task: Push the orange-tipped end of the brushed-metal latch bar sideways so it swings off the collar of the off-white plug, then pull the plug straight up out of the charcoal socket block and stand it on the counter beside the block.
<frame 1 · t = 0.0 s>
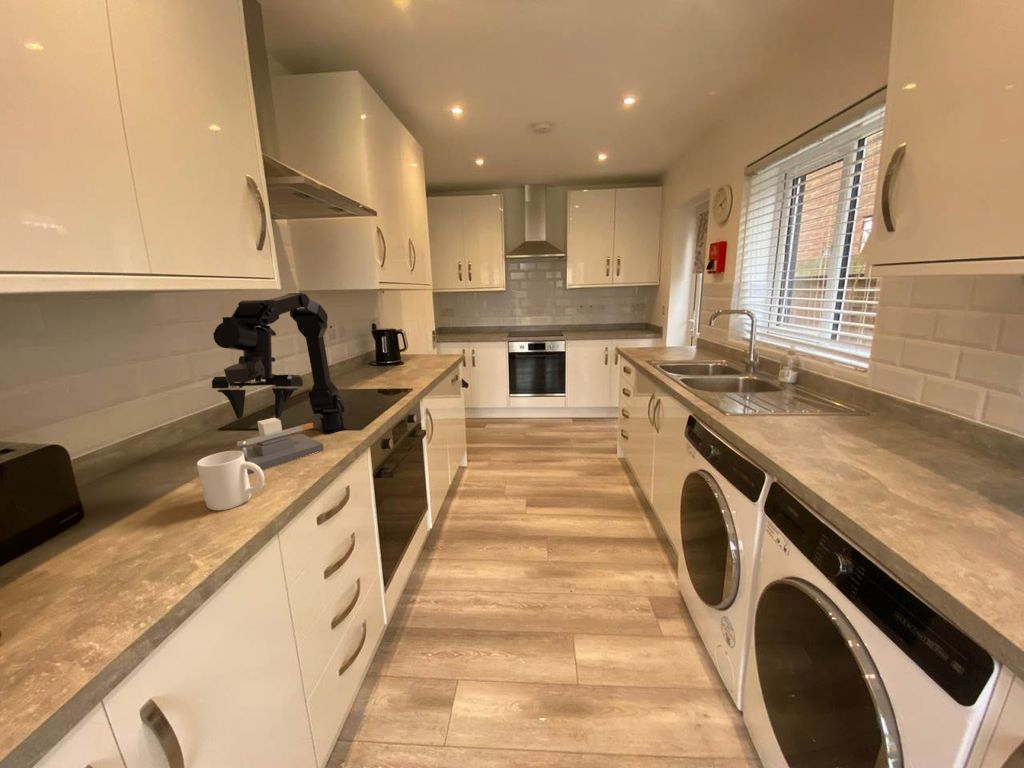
hand: (258, 418, 96), 15 cm above the worktop, tool pointing down, fingers open, 9 cm apart
plug: (273, 448, 114), point 2 cm above the worktop, touching socket block
mug: (239, 501, 90), on the worktop
latch bar: (277, 434, 111), point 7 cm above the worktop, hinge at 0.0°
socket block: (275, 454, 115), on the worktop
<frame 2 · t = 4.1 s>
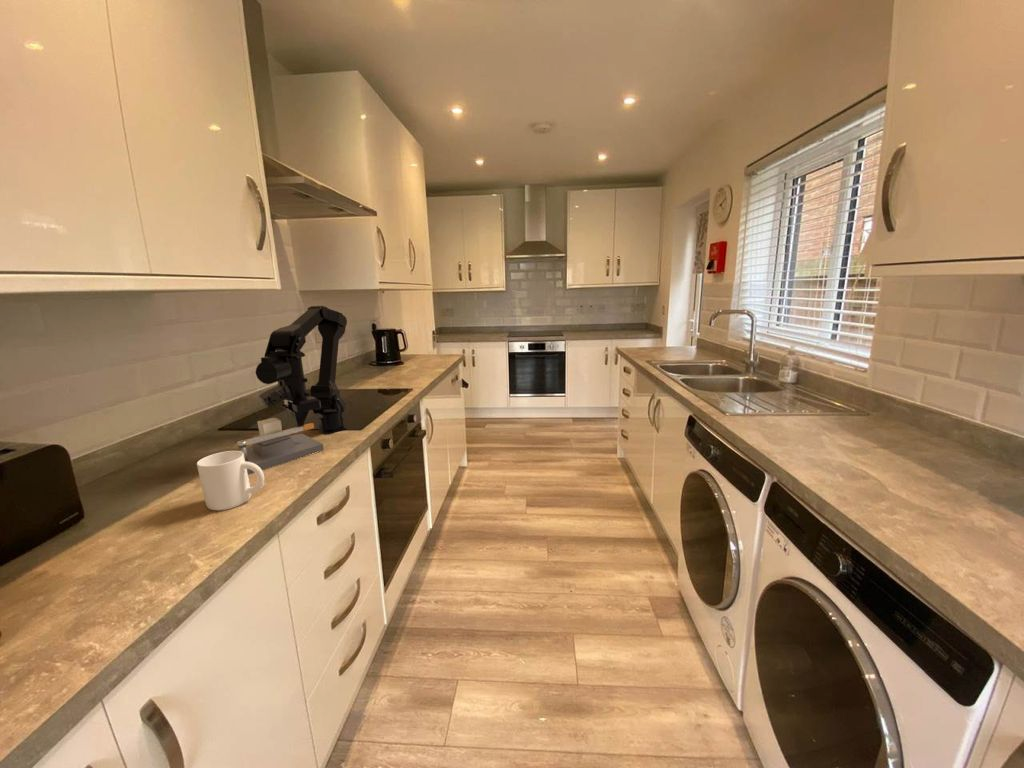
hand: (300, 428, 117), 6 cm above the worktop, tool pointing down, fingers closed
latch bar: (277, 434, 111), point 7 cm above the worktop, hinge at 1.6°, touching gripper
everything else where it was.
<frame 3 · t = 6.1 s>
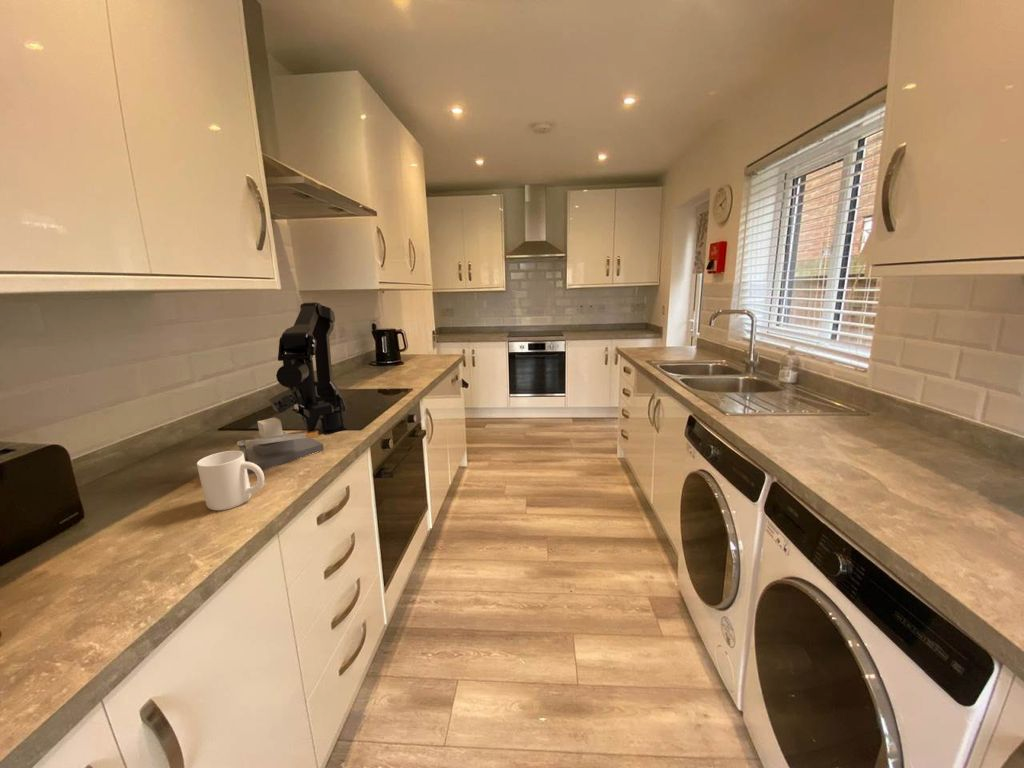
hand: (311, 433, 112), 6 cm above the worktop, tool pointing down, fingers closed
latch bar: (278, 438, 108), point 7 cm above the worktop, hinge at 28.8°, touching gripper
everything else where it was.
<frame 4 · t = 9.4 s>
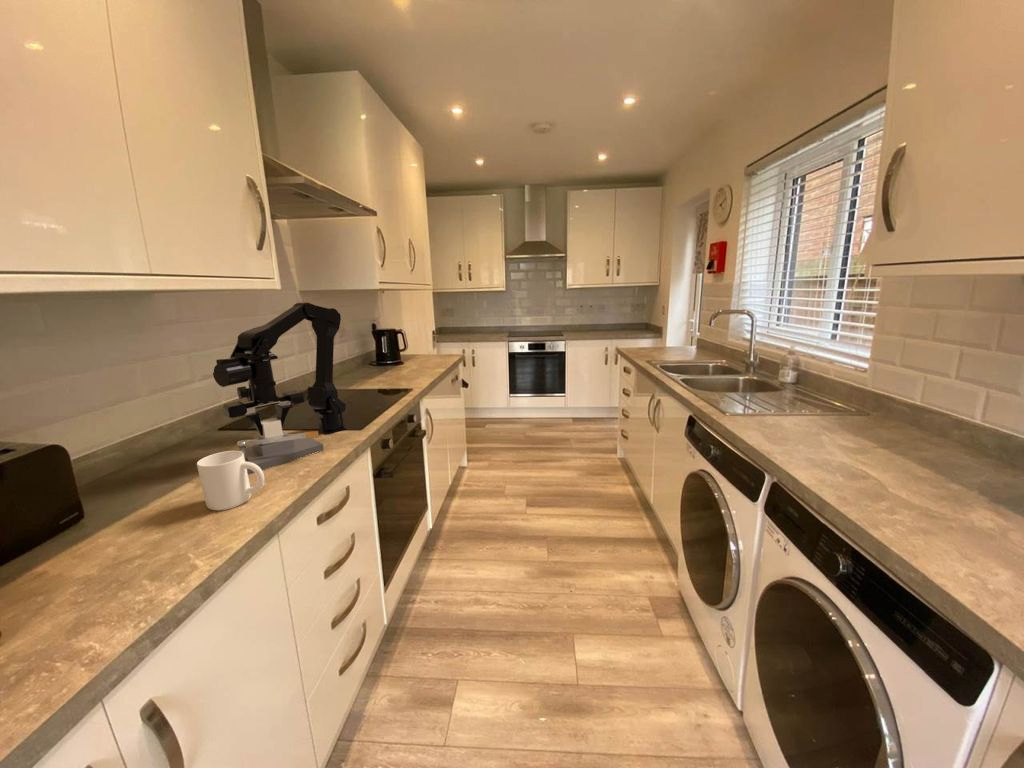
hand: (271, 432, 113), 7 cm above the worktop, tool pointing down, fingers closed on plug, 4 cm apart
plug: (273, 448, 114), point 2 cm above the worktop, touching gripper, socket block
latch bar: (278, 438, 108), point 7 cm above the worktop, hinge at 29.1°
everything else where it was.
when the fingers open (5 cm above the worktop, at t = 13.8 s): plug drops 1 cm, on the worktop.
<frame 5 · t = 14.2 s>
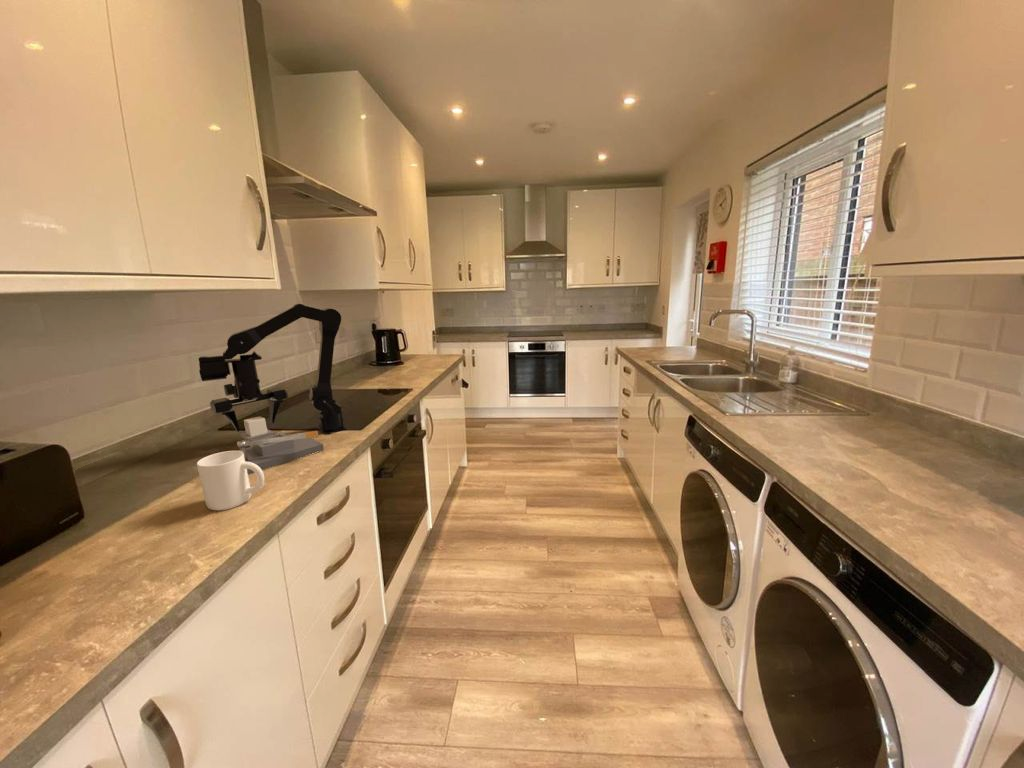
hand: (255, 427, 122), 5 cm above the worktop, tool pointing down, fingers open, 9 cm apart
plug: (259, 444, 123), on the worktop
everything else where it was.
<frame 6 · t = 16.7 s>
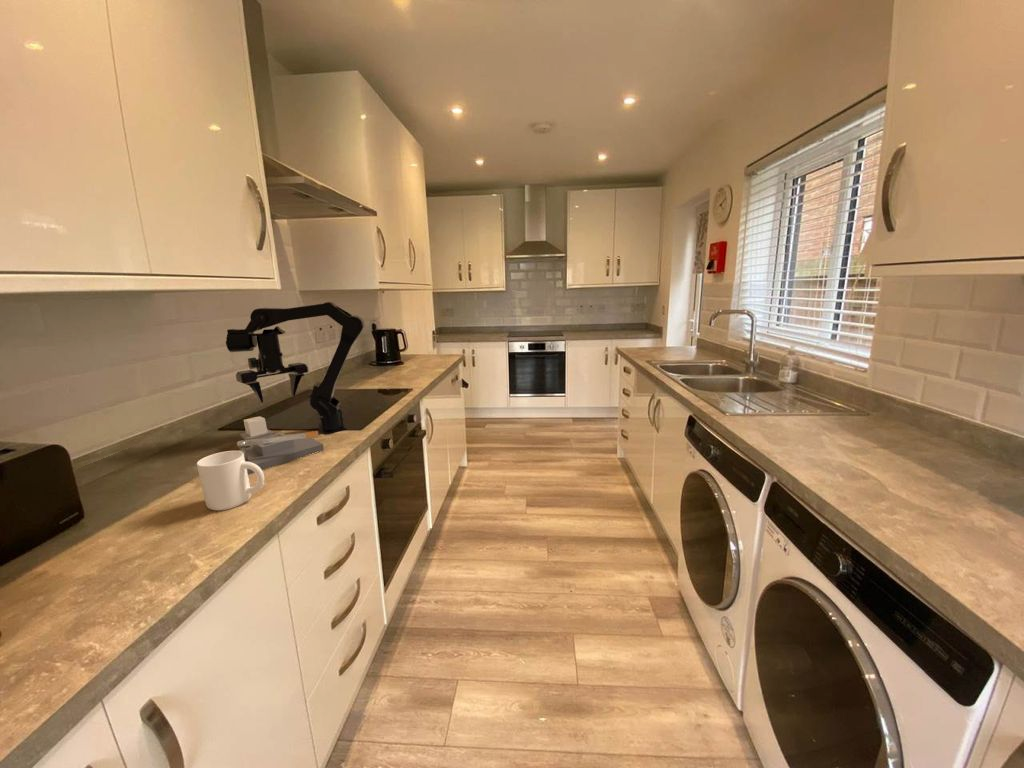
hand: (278, 399, 127), 12 cm above the worktop, tool pointing down, fingers open, 9 cm apart
nothing on the worktop moved.
at the end: latch bar at +29° (first picture: +0°); plug inside the target area (0.0 cm from its centre), on the worktop; plug tilted 0° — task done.
